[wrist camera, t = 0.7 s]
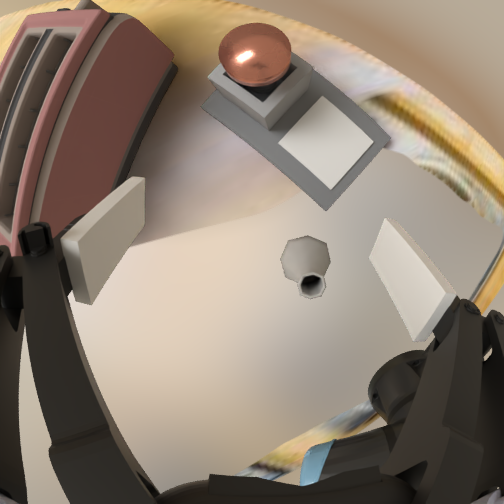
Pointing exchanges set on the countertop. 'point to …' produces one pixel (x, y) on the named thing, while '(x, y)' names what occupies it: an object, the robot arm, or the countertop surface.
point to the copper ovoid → (256, 56)
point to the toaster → (73, 112)
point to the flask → (306, 265)
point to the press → (300, 128)
